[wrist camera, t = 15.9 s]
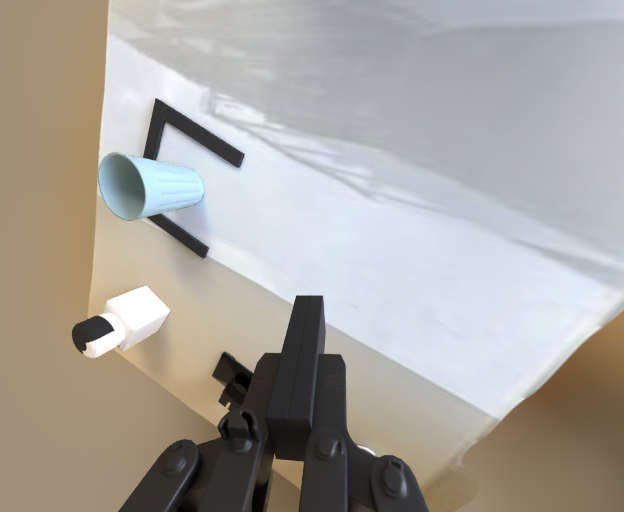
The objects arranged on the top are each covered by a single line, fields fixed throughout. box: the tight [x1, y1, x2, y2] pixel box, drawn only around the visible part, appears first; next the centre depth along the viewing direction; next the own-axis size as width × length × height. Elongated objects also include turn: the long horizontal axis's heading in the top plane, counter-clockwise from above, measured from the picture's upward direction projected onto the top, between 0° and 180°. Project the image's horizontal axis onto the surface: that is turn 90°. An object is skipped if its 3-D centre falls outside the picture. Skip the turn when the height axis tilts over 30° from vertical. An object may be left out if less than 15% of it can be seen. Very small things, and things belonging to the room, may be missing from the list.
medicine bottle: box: [72, 286, 170, 358], centre depth 44 cm, size 7×7×12 cm
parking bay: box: [143, 98, 244, 258], centre depth 38 cm, size 16×18×1 cm
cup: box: [98, 152, 204, 221], centre depth 34 cm, size 8×8×10 cm
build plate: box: [212, 352, 254, 411], centre depth 44 cm, size 12×7×5 cm, turn 61°
